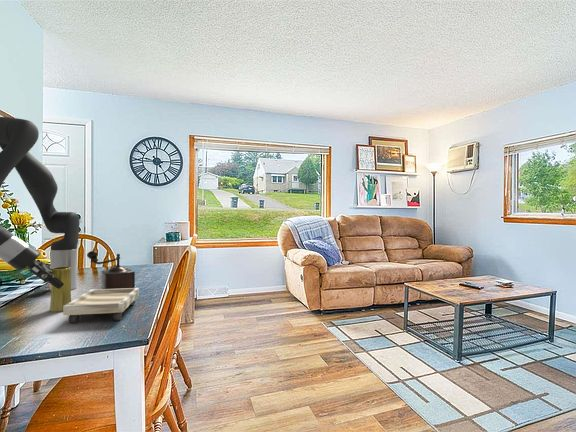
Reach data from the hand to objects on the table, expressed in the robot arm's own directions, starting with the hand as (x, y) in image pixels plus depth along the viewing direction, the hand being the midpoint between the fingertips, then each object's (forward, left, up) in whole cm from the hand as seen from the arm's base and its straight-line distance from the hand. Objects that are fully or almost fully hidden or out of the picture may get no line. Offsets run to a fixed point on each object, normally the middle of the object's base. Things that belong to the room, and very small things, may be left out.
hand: (61, 284), depth 104 cm
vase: (0, 0, -9) cm, 9 cm away
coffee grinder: (-18, +10, -9) cm, 22 cm away
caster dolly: (+7, +16, -9) cm, 19 cm away
